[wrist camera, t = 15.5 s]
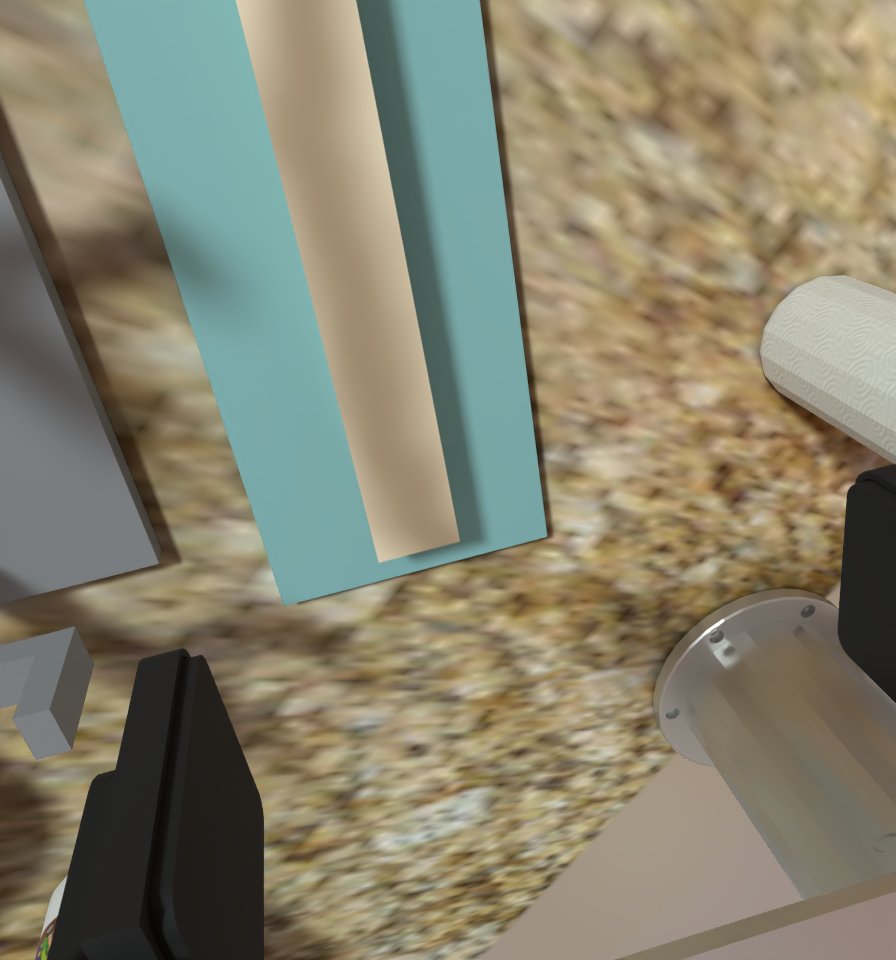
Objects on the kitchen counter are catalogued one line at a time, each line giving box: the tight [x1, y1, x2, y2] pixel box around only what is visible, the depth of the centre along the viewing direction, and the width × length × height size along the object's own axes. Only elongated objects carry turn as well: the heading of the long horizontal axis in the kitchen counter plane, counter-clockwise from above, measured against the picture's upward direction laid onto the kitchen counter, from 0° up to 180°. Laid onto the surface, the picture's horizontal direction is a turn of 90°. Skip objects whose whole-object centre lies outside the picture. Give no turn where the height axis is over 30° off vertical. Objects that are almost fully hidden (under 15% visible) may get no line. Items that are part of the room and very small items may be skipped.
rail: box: [236, 0, 460, 563], centre depth 30 cm, size 4×24×3 cm, turn 10°
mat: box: [84, 0, 547, 606], centre depth 32 cm, size 13×30×1 cm, turn 10°
